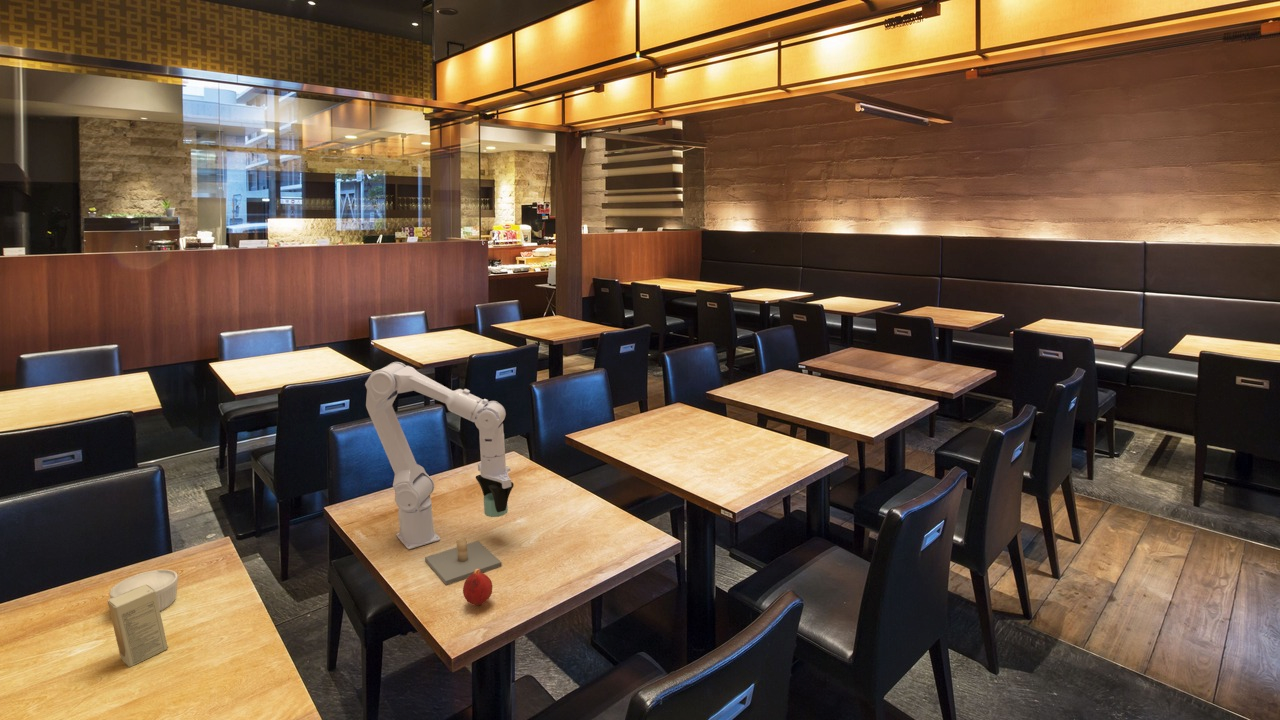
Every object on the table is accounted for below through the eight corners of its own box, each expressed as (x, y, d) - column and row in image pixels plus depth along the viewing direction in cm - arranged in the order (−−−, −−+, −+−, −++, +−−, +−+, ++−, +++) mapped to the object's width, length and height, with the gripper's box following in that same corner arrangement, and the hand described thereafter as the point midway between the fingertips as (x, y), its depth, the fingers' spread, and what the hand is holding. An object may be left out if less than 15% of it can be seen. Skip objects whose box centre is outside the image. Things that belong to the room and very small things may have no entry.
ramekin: (194, 596, 139) (190, 573, 138) (140, 626, 129) (135, 602, 128) (156, 587, 143) (152, 565, 142) (101, 616, 133) (96, 592, 131)
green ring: (481, 511, 160) (480, 495, 160) (501, 505, 164) (500, 490, 163) (490, 519, 156) (489, 503, 155) (511, 512, 159) (510, 497, 159)
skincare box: (159, 641, 124) (148, 582, 122) (169, 649, 122) (158, 589, 119) (118, 659, 119) (105, 599, 117) (127, 668, 117) (115, 606, 114)
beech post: (456, 559, 151) (454, 539, 150) (465, 556, 152) (464, 536, 151) (460, 563, 149) (458, 542, 148) (469, 560, 151) (467, 539, 150)
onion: (486, 615, 131) (483, 578, 130) (459, 612, 132) (456, 575, 131) (497, 598, 137) (495, 563, 135) (472, 596, 138) (469, 561, 136)
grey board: (425, 561, 152) (424, 557, 152) (478, 544, 160) (478, 540, 160) (446, 585, 142) (445, 581, 142) (501, 566, 150) (501, 562, 150)
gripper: (522, 458, 153) (524, 512, 156) (495, 442, 165) (498, 492, 168) (493, 465, 149) (497, 520, 152) (468, 447, 161) (471, 500, 163)
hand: (495, 506), depth 160 cm, fingers closed on green ring, 5 cm apart
